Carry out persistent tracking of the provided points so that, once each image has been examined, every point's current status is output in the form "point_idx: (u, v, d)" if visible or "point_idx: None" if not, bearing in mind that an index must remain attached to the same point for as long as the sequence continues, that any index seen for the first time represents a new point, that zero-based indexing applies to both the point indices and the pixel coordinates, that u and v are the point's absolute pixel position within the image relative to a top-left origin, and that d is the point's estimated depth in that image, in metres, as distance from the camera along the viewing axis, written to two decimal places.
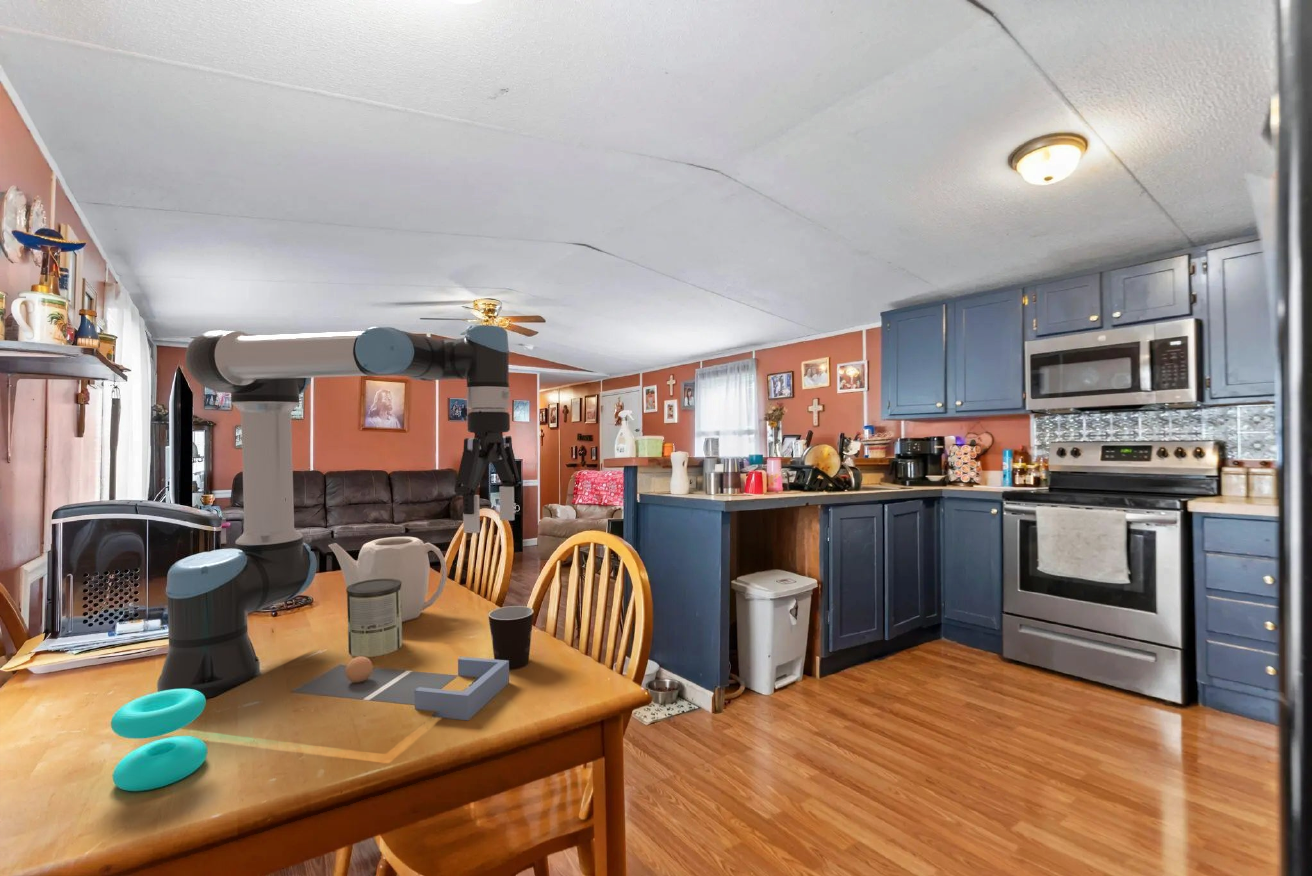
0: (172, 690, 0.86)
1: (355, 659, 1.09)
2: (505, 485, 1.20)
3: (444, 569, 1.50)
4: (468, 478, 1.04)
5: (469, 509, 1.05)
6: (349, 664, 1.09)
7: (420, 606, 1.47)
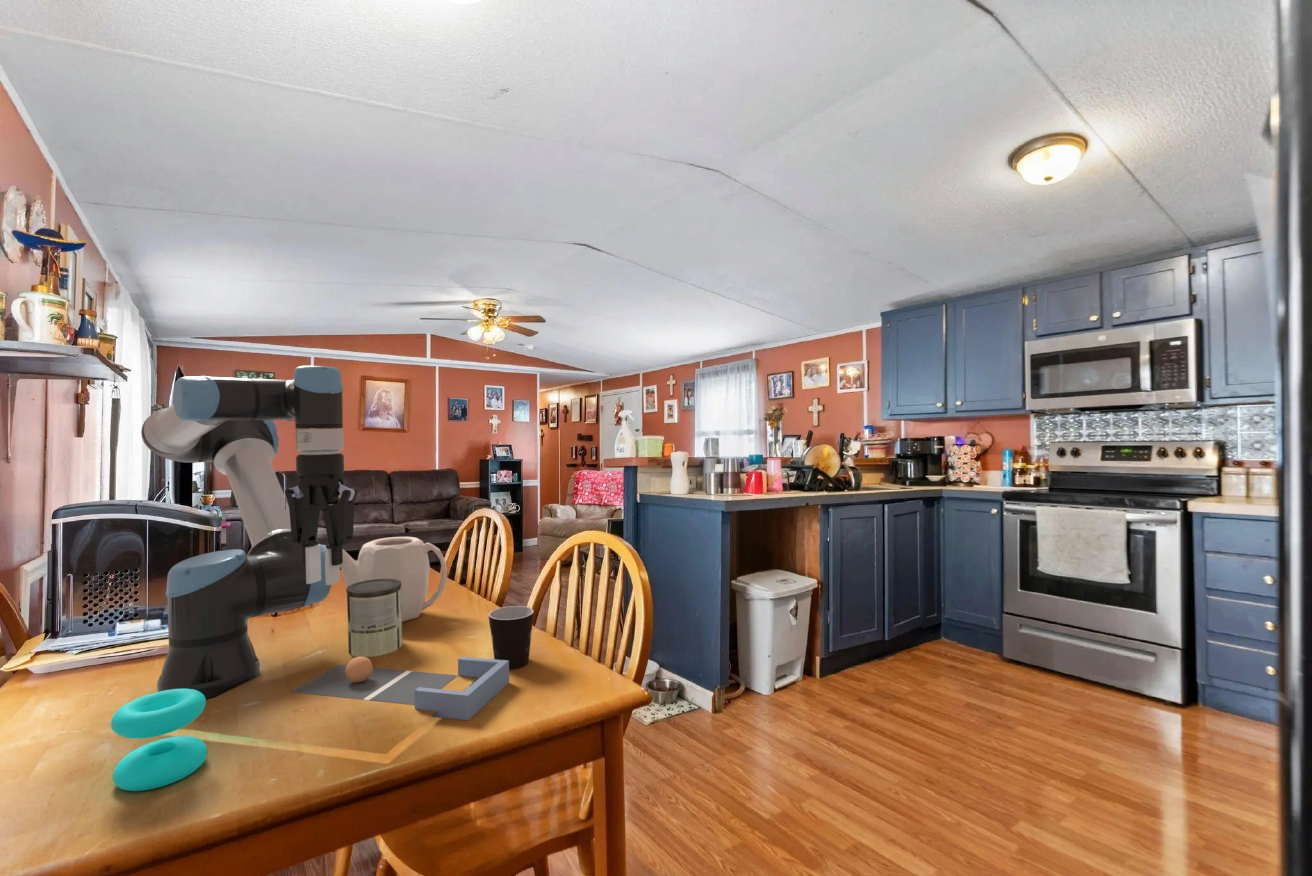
0: (172, 690, 0.86)
1: (355, 659, 1.09)
2: None
3: (444, 569, 1.50)
4: None
5: None
6: (349, 664, 1.09)
7: (420, 606, 1.47)
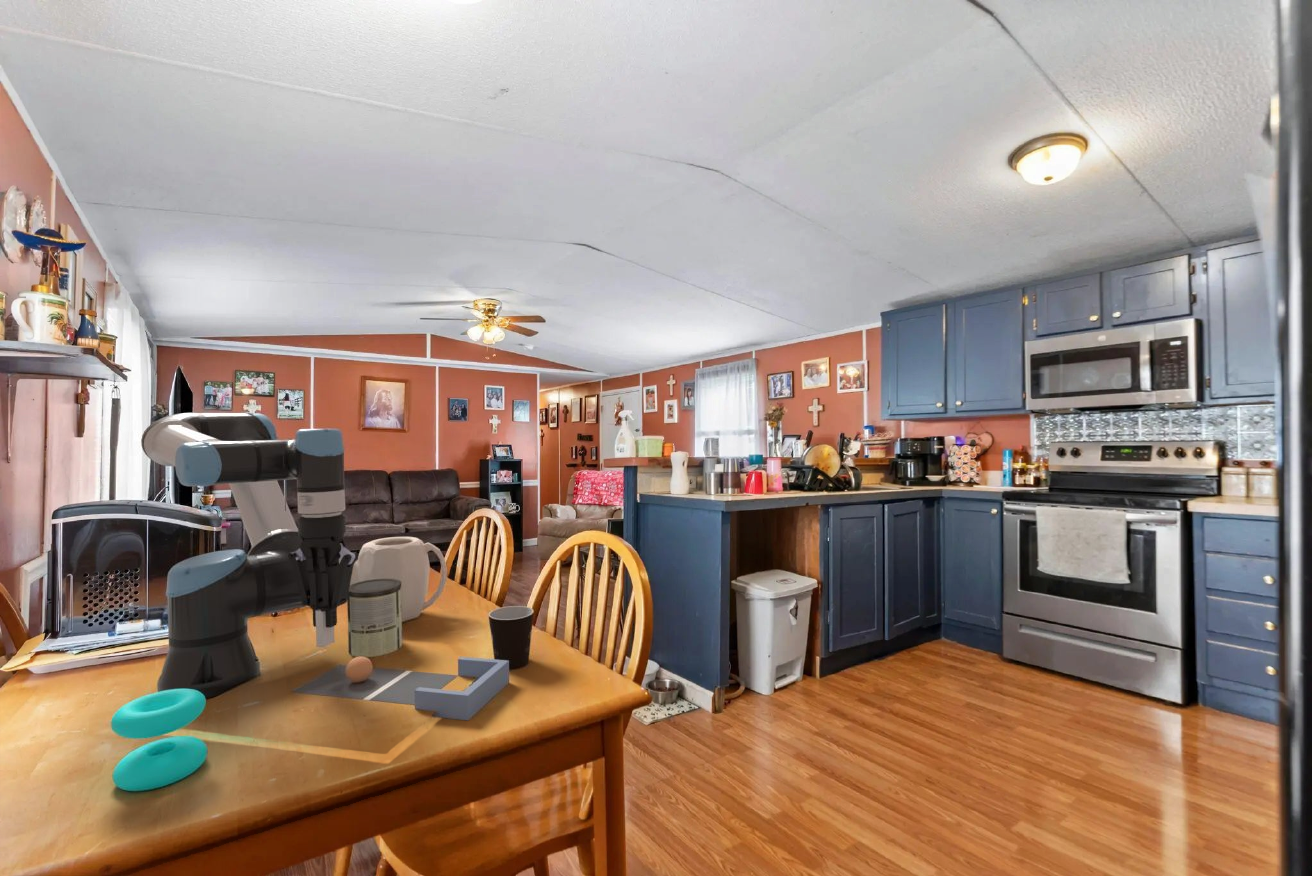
0: (172, 690, 0.86)
1: (355, 659, 1.09)
2: None
3: (444, 569, 1.50)
4: None
5: None
6: (349, 664, 1.09)
7: (420, 606, 1.47)
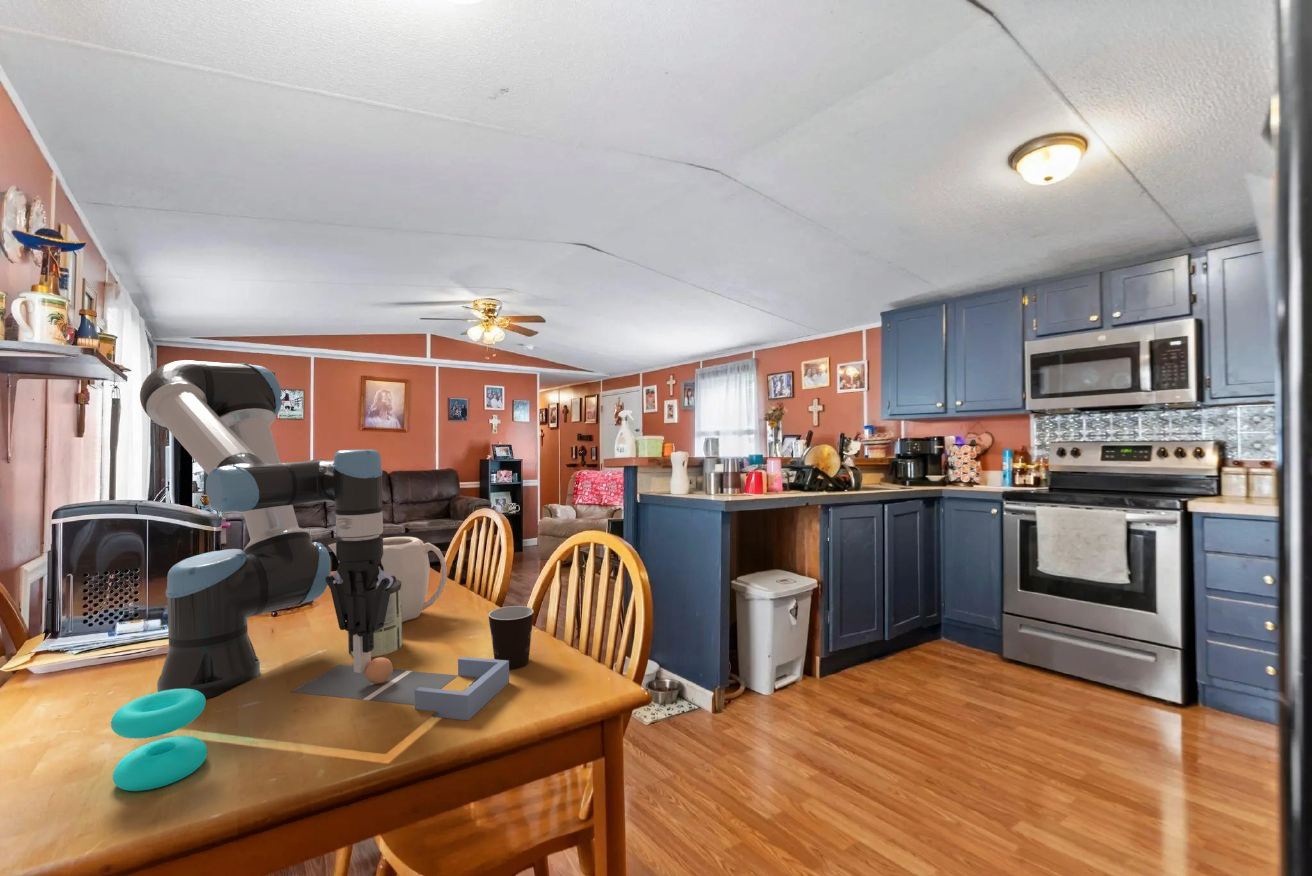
0: (172, 690, 0.86)
1: (383, 663, 1.08)
2: None
3: (444, 569, 1.50)
4: None
5: None
6: (376, 665, 1.07)
7: (420, 606, 1.47)
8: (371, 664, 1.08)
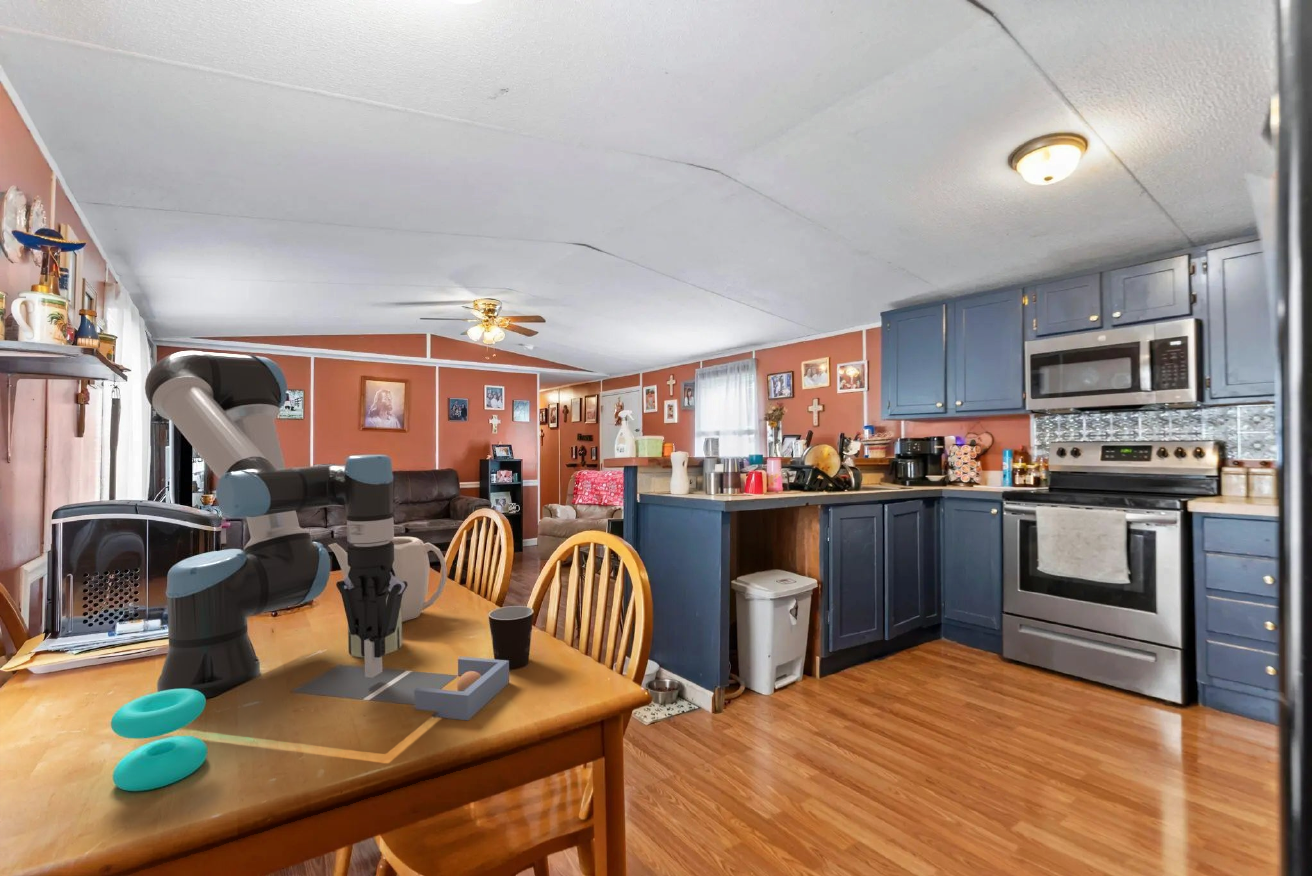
0: (172, 690, 0.86)
1: None
2: None
3: (444, 569, 1.50)
4: None
5: None
6: None
7: (420, 606, 1.47)
8: None
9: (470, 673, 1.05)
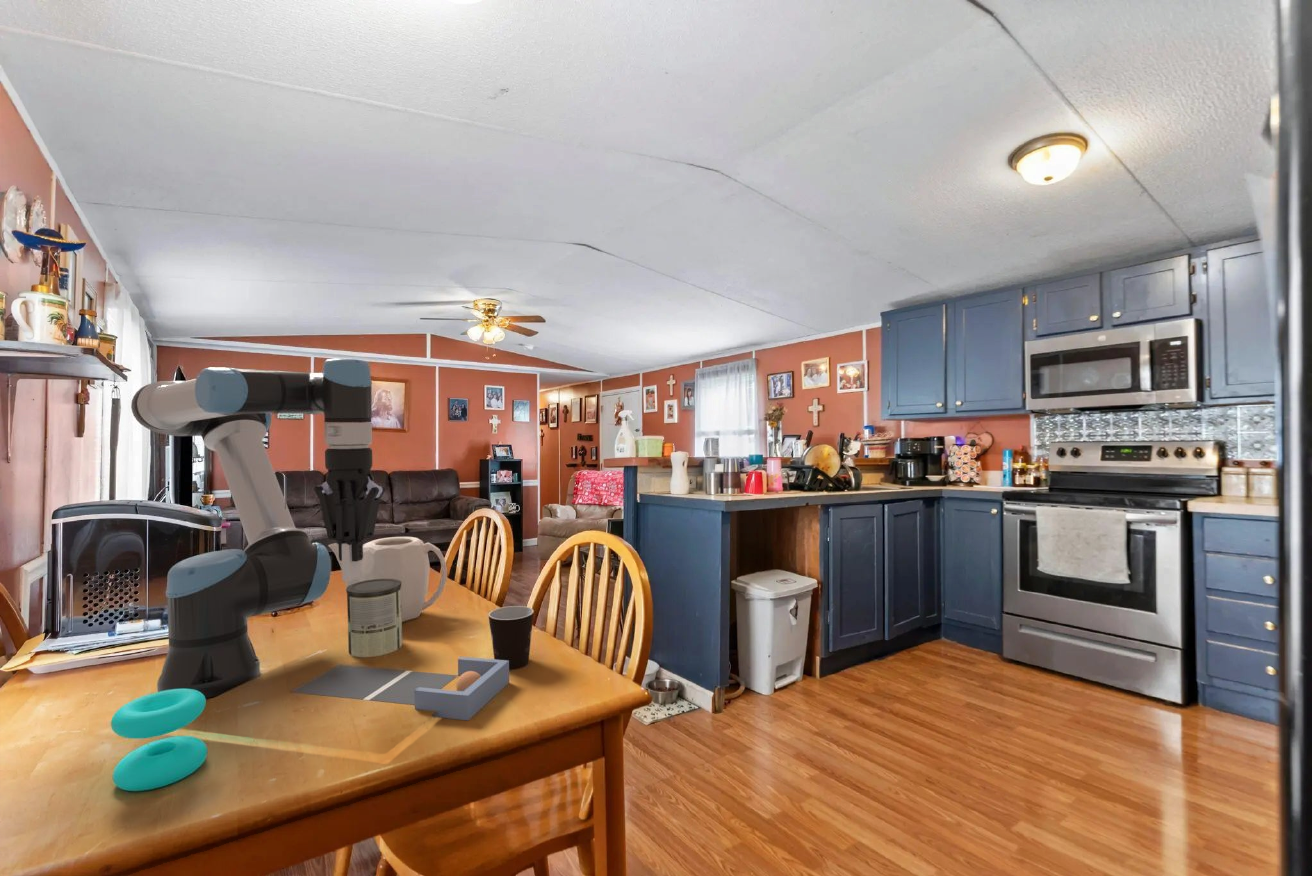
0: (172, 690, 0.86)
1: None
2: None
3: (444, 569, 1.50)
4: None
5: None
6: None
7: (420, 606, 1.47)
8: None
9: (468, 673, 1.05)
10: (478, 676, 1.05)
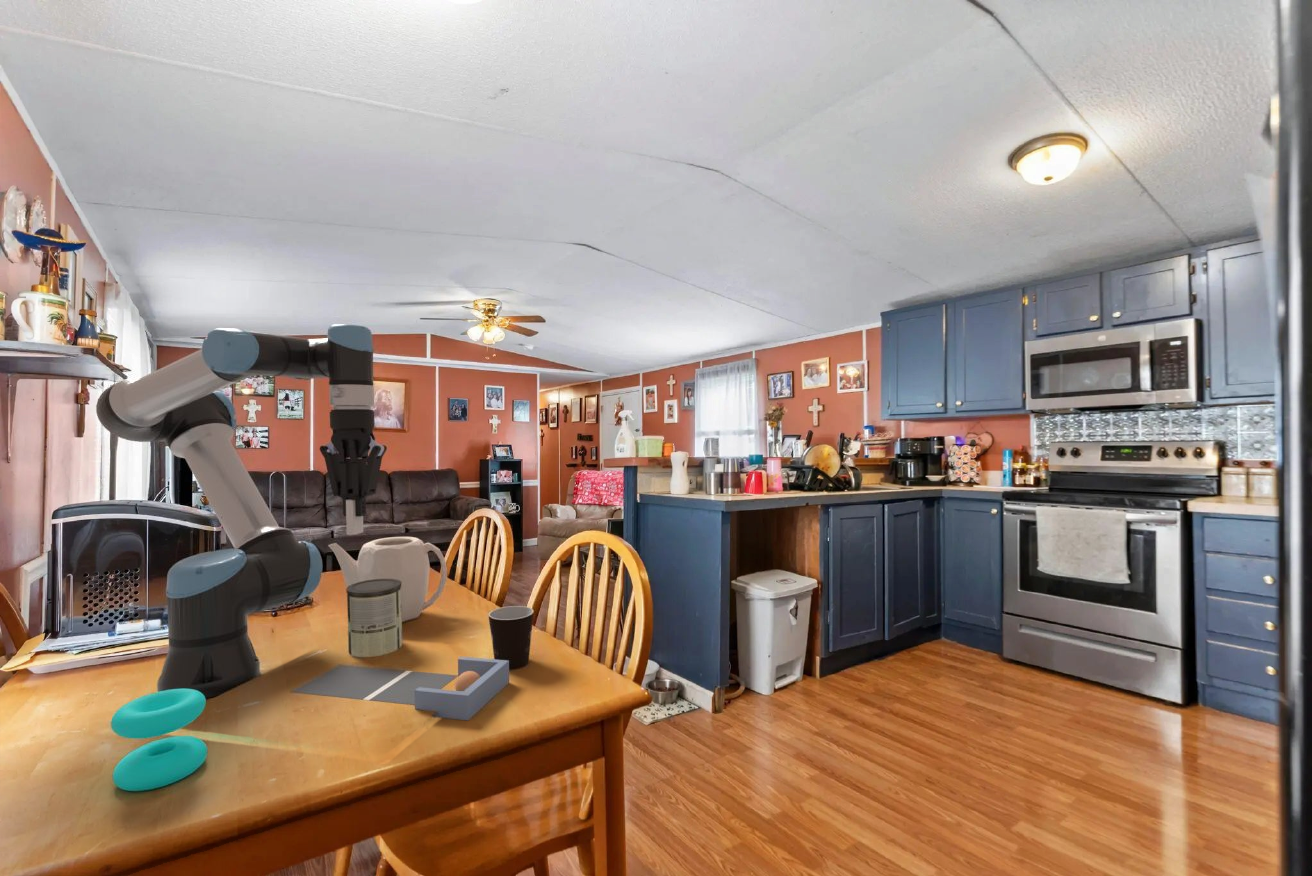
0: (172, 690, 0.86)
1: None
2: None
3: (444, 569, 1.50)
4: (331, 484, 1.16)
5: None
6: None
7: (420, 606, 1.47)
8: None
9: (467, 673, 1.05)
10: (476, 675, 1.05)
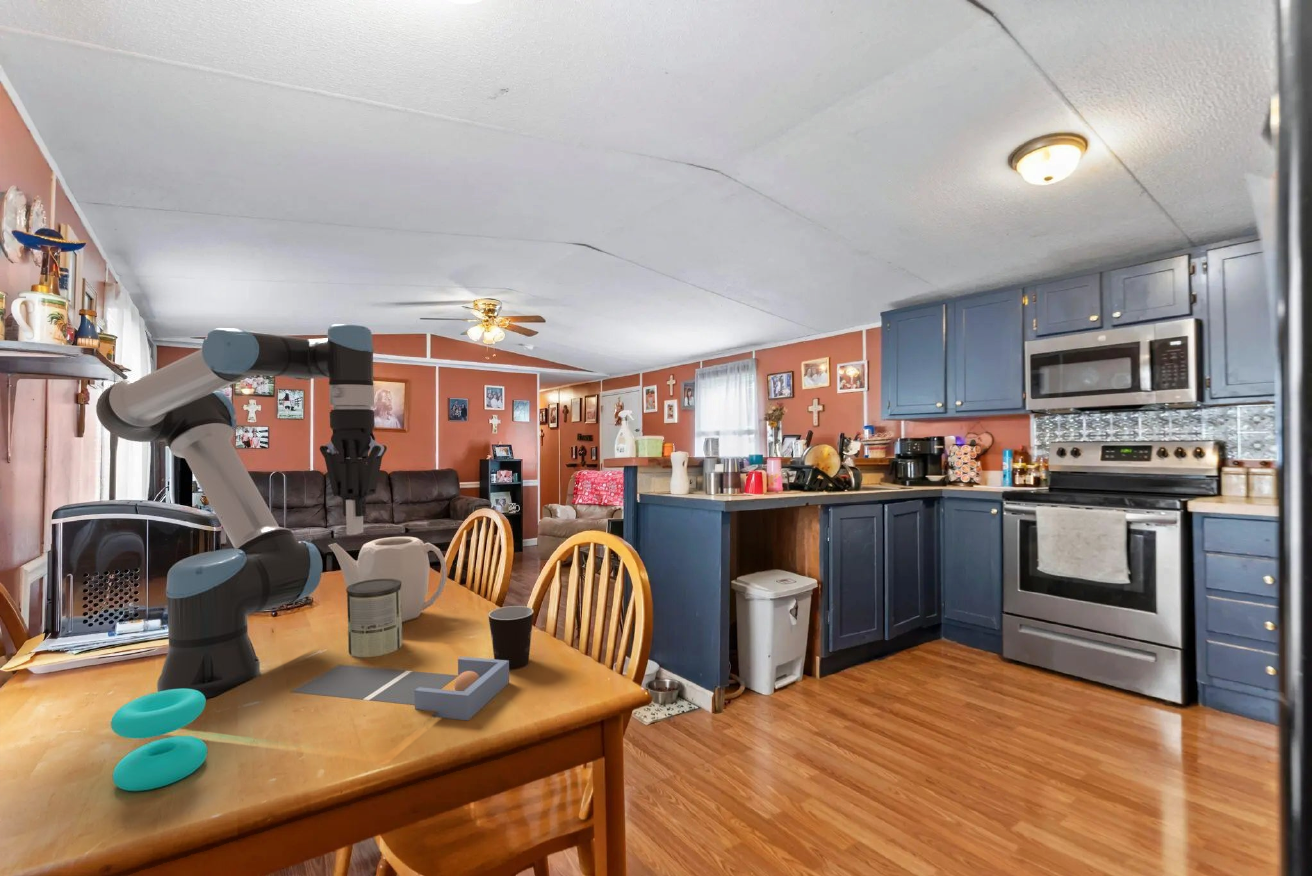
0: (172, 690, 0.86)
1: None
2: None
3: (444, 569, 1.50)
4: (331, 484, 1.16)
5: None
6: None
7: (420, 606, 1.47)
8: None
9: (465, 673, 1.05)
10: (475, 675, 1.05)
